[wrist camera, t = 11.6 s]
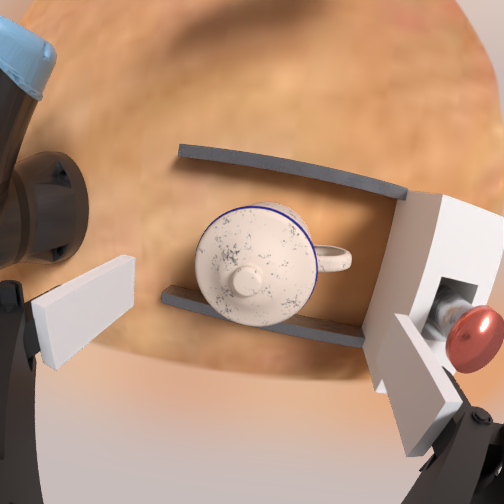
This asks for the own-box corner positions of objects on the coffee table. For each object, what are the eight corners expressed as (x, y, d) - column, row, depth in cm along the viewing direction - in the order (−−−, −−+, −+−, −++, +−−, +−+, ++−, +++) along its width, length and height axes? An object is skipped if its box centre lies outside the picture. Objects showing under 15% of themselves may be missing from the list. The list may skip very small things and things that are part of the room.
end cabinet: (358, 335, 30) (375, 392, 21) (399, 189, 26) (442, 194, 16) (412, 343, 29) (441, 396, 20) (455, 207, 25) (510, 220, 16)
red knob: (409, 322, 21) (440, 371, 14) (427, 271, 20) (469, 307, 13) (450, 329, 20) (486, 374, 14) (468, 281, 19) (514, 315, 12)
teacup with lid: (226, 287, 31) (186, 341, 20) (221, 200, 29) (172, 212, 18) (341, 289, 29) (358, 348, 18) (343, 199, 27) (369, 210, 16)
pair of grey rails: (170, 294, 33) (161, 302, 30) (189, 146, 29) (179, 143, 26) (358, 336, 30) (361, 348, 28) (399, 187, 26) (407, 188, 24)
